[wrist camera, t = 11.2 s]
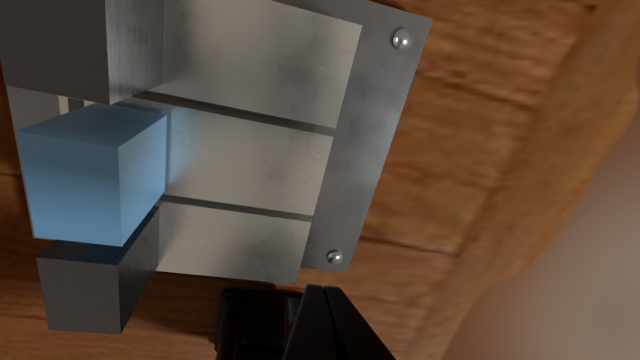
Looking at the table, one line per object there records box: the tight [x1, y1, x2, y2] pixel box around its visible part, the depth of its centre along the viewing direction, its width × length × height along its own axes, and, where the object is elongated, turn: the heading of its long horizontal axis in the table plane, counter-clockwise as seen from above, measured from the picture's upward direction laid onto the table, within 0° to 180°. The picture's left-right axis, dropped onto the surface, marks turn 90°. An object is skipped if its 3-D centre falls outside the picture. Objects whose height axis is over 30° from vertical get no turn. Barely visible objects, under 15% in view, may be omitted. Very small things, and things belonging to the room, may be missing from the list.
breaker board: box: [0, 0, 433, 334], centre depth 14 cm, size 16×19×8 cm
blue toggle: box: [16, 103, 167, 247], centre depth 11 cm, size 4×2×4 cm
